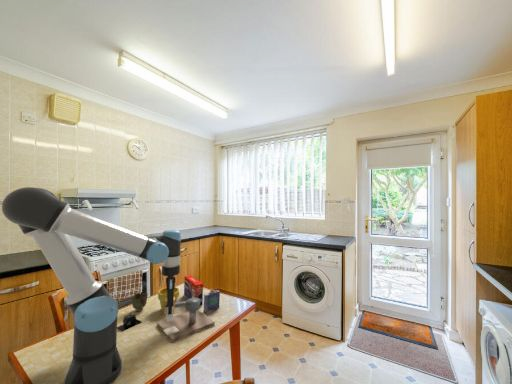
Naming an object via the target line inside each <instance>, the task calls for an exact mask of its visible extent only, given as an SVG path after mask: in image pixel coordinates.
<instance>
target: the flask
mask: <svg viewBox="0 0 512 384" xmlns="http://www.w3.org/2000/svg"><path fill="white" fill-rule="evenodd" d="M220 293H221V291H220V290H218V289H216V290H214V289H213V288H210V291H209V292H206V293H203V312H204V314H206V313H209V312H213V311H214V310H215V311H216V310H218V309H220V296H221V295H220Z"/></svg>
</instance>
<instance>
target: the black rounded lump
mask: <svg viewBox="0 0 512 384" xmlns="http://www.w3.org/2000/svg"><path fill="white" fill-rule="evenodd" d="M122 321H123V322H122V324H121V325H119V326H118V325H117V331H120V332H125V331H126V330H130V329H131V328H134V327H136V326H138V325H139V324H143V321H141V320H139V319H137V317H136V315H135V314H133V313H129V314H128V315H126V316H124V317H123V320H122Z"/></svg>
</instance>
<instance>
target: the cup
mask: <svg viewBox="0 0 512 384" xmlns="http://www.w3.org/2000/svg"><path fill="white" fill-rule="evenodd" d="M148 295H149V294H148V293H146V292H137V293H134V295H131V304H132V305H131V306H132V308H133V309H134V311H135V312H136V313H140V312H142V311H143V310H144V307H146V305H147V300H148Z"/></svg>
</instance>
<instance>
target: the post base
mask: <svg viewBox="0 0 512 384" xmlns="http://www.w3.org/2000/svg"><path fill="white" fill-rule="evenodd" d="M215 324H216V322H215V321H214V320H213V319H212V318H210V317H209V316H207V315H206V313H203V312H202V311H201V310H200V309H198V310H196V311H186V312H183V313H181V314H177V315H173V321H169V322H166V318H165V319H162V320H160V321H157V322H156V326H157V327H158V328H159V330H161V332H162V334H164V335H165V336H166V338H167V339H168V340H169V341H170V342H171V343H176V342H177V341H180V340H182V339H184V338H185V339H186V338H188V337H189V336H192V335H194V334H196V333H199V332H202V331H204V330H206V329H209V328H211V327H213V326H215Z"/></svg>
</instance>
